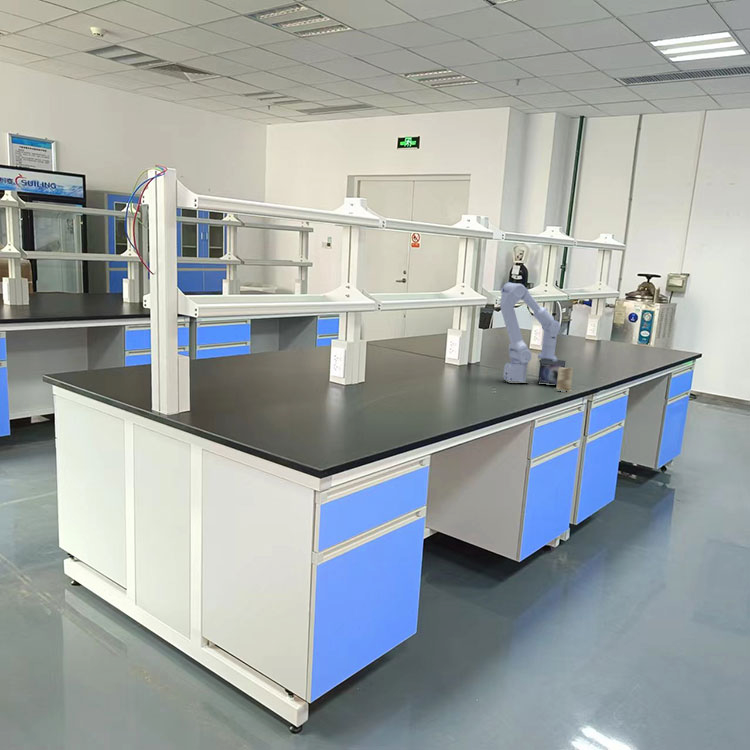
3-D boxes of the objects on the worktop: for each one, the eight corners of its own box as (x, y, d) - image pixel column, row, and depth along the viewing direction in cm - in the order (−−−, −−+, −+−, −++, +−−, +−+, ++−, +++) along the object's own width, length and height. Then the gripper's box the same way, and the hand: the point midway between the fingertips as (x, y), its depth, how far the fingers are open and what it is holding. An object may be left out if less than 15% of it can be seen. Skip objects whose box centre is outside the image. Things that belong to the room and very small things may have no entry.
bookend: (559, 392, 273) (562, 368, 271) (555, 390, 276) (558, 367, 274) (572, 392, 274) (575, 369, 272) (568, 391, 277) (571, 367, 275)
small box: (537, 384, 286) (539, 362, 282) (538, 379, 292) (540, 357, 288) (562, 387, 283) (565, 365, 279) (562, 382, 289) (565, 360, 285)
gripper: (565, 349, 284) (561, 379, 286) (549, 344, 298) (545, 373, 300) (550, 348, 282) (546, 379, 285) (535, 343, 296) (531, 372, 298)
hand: (545, 376), depth 292 cm, fingers closed
